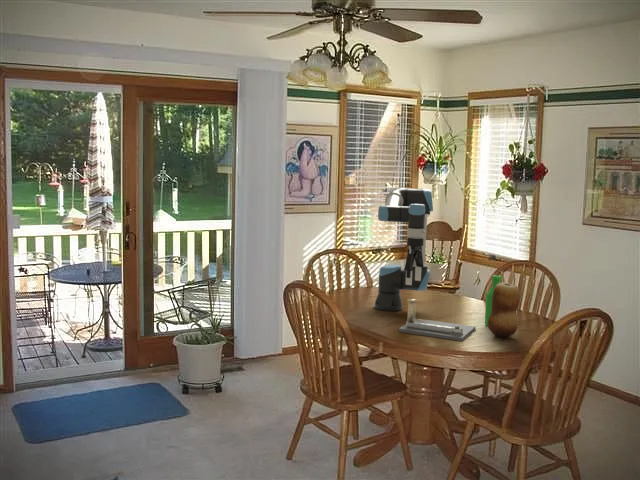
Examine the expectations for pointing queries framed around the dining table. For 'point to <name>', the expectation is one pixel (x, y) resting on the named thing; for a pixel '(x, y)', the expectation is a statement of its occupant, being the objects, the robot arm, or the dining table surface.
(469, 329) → the lever board
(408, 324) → the lever
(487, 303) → the bottle
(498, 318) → the butternut squash
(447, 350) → the dining table surface
